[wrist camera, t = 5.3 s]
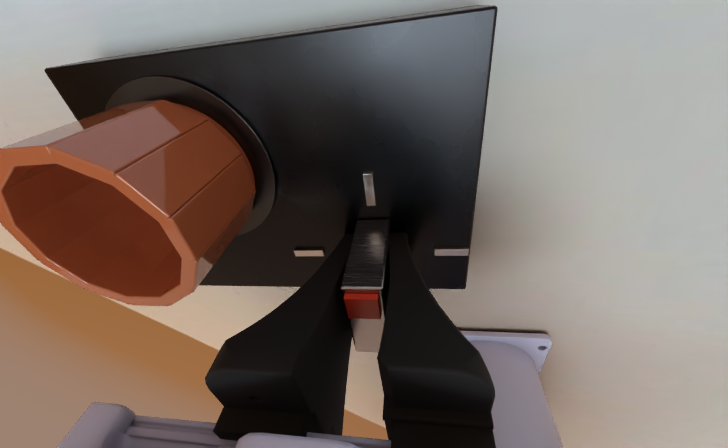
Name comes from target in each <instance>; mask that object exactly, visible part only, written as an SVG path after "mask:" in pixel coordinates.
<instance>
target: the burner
mask: <svg viewBox="0 0 728 448" xmlns="http://www.w3.org/2000/svg"><path fill="white" fill-rule="evenodd" d="M153 100H167V101H169V102H171V103H177V104H181V105H185V106H188V107H190V108H193V109H196V110H198V111H200V112H202V113H204V114H205V115H207V116H209V117H210V118H212V119H213V120H215V121H216V122H217V123H218V124H220V125H221V126H222V127H223V128H225V129H226V130H227V131H228V132H229V133H230V134H231V135H232V136H233V138H234V139H235V140H236V141H237V142H238V144H239V145H240V146H241V148H242V149H243V151H244V153H245V154H246V156H247V158H248V160H249V162H250V164H251V167H252V170H253V174H254V179H255V190H256V192H255V197H254V201H253V205H252V210H251V214H250V217H249V219H248V220H247V222H246V223H245V224H244V226H243V227H242V228H241V230H240V231H239V232H238V234H237V235H241V234H244V233H247V232H249V231H251V230H253V229H255V228H256V227H258V226H259V225H260V224H261V223H262V222H263V221H264V220H265V219H266V218H267V217H268V215H269V213H270V212H271V210H272V208H273V205H274V203H275V199H276V194H277V179H276V172H275V168H274V164H273V161H272V159H271V156H270V153H269V151H268V149H267V147H266V145H265V143H264V142H263V140H262V138H261V137H260V135H259V134H258V132H257V131H256V130H255V128H254V127H253V126H252V125H251V123H250V122H249V121H248V120H247V119H246V118H245V117H244V116H243V115H242V114H241V113H240V112H239V111H238V110H237V109H236V108H235V107H234V106H232V105H231V104H230V103H229V102H227V101H226V100H225V99H223V98H222V97H220V96H219V95H217V94H216V93H214V92H213V91H211V90H209V89H207V88H205V87H203V86H201V85H199V84H196V83H194V82H191V81H189V80H186V79H182V78H178V77H174V76H165V75H151V76H145V77H140V78H136V79H134V80H131V81H129V82H127V83H125V84H123V85H122V86H121V87H119V88H118V89H117V90H116V91H115V92H114V93H113V95H112V96H111V98H110V99H109V101H108V103H107V105H106V109H105V111H107V110H110V109H112V108H115V107H118V106H121V105H124V104H127V103H135V102H144V101H153Z"/></svg>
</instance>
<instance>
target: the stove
mask: <svg viewBox="0 0 728 448" xmlns="http://www.w3.org/2000/svg"><path fill="white" fill-rule="evenodd" d="M496 17H497V6H490V5H476V6H469V7H462V8H455V9H448V10H440V11H433V12H426V13H419V14H412V15H405V16H398V17H391V18H384V19H377V20H370V21H363V22H355V23H348V24H341V25H334V26H327V27H320V28H313V29H306V30H299V31H292V32H285V33H278V34H270V35H263V36H256V37H249V38H242V39H235V40H228V41H221V42H214V43H207V44H200V45H193V46H185V47H178V48H171V49H164V50H157V51H150V52H143V53H136V54H129V55H122V56H115V57H108V58H101V59H95V60H89V61H84V62H78V63H73V64H67V65H61V66H56V67H50V68H46V69H45V73H46V74H47V76H48V77H49V79H50V80H51V82H52V83H53V84H54V86H55V87H56V89H57V90H58V92H59V93H60V95H61V96H62V98H63V99H64V101H65V102H66V104H67V105H68V107H69V108H70V110H71V111H72V113H73V114H74V116H75V117H76V119H77V120H78V121H79V120H81V119H84V118H87V117H90V116H93V115H96V114H98V113H101V112H104V111H105V109H106V105H107V103H108V101H109V99H110V98H111V96H112V95H113V93H114V92H115V91H116V90H117V89H118V88H119V87H121V86H122V85H123V84H125V83H127V82H129V81H131V80H134V79H136V78H140V77H145V76H151V75H165V76H174V77H178V78H182V79H186V80H189V81H191V82H194V83H196V84H199V85H201V86H203V87H205V88H207V89H209V90H211V91H213V92H214V93H216V94H217V95H219V96H220V97H222V98H223V99H225V100H226V101H227V102H229V103H230V104H231V105H232V106H234V107H235V108H236V109H237V110H238V111H239V112H240V113H241V114H242V115H243V116H244V117H245V118H246V119H247V120H248V121H249V122H250V123H251V125H252V126H253V127H254V128H255V130H256V131H257V132H258V134H259V135H260V137H261V138H262V140H263V142H264V143H265V145H266V147H267V149H268V151H269V153H270V156H271V159H272V161H273V164H274V168H275V172H276V179H277V194H276V199H275V203H274V205H273V208H272V210H271V212H270V213H269V215H268V217H267V218H266V219H265V220H264V221H263V222H262V223H261V224H260V225H259V226H258V227H256V228H255V229H253V230H251V231H249V232H247V233H244V234H241V235H236V236H235V237H234V239H233V240H232V241H231V243H230V244H229V245H228V247H227V248H226V249H225V251H224V252H223V253H222V255H221V256H220V257H219V259H218V260H217V261H216V263H215V264H214V265H213V267H212V268H211V269H210V271H209V272H208V273H207V275H206V276H205V277H204V279H203V280H202V281H201V283H200V284H199V285H213V286H284V287H302V286H303V285H304V284H305V283H306V282H307V281H308V280H309V279H310V278H311V276H312V275H313V274H314V273H315V272H316V271H317V270H318V269H319V267H320V266H321V265H322V264H323V263H324V261H325V260H326V259H327V258H328V256H329V255H330V254H331V253H332V251H333V250H334V249H335V247H336V246H337V245H338V243H339V242H340V241H341V239H342V238H343V236H344V235H345V234H354V230H355V226H356V222H357V221H358V220H379V219H388V220H389V221H390V227H391V233H398V232H405V233H406V234H407V236H408V244H409V247H410V251H411V254H412V256H413V259H414V261H415V264H416V266H417V268H418V270H419V272H420V274H421V276H422V278H423V280H424V282H425V284H426V286H427V287H428V289H465V288H466V281H467V272H468V264H469V255H470V246H471V237H472V228H473V220H474V211H475V202H476V193H477V184H478V176H479V167H480V158H481V149H482V140H483V132H484V123H485V114H486V105H487V96H488V88H489V79H490V70H491V61H492V52H493V44H494V35H495V26H496Z"/></svg>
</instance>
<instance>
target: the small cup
mask: <svg viewBox="0 0 728 448" xmlns="http://www.w3.org/2000/svg"><path fill="white" fill-rule="evenodd" d="M255 192H256V190H255V179H254V174H253V170H252V167H251V164H250V162H249V160H248V158H247V156H246V154H245V153H244V151H243V149H242V148H241V146H240V145H239V144H238V142H237V141H236V140H235V139H234V138H233V136H232V135H231V134H230V133H229V132H228V131H227V130H226V129H225V128H223V127H222V126H221V125H220V124H218V123H217V122H216V121H215V120H213V119H212V118H210V117H209V116H207V115H205V114H204V113H202V112H200V111H198V110H196V109H193V108H190V107H188V106H185V105H181V104H177V103H171V102H169V101H167V100H153V101H144V102H135V103H127V104H124V105H121V106H118V107H115V108H112V109H110V110H107V111H104V112H101V113H98V114H96V115H93V116H90V117H87V118H84V119H81V120H79V121H76V122H73V123H70V124H67V125H64V126H62V127H59V128H56V129H53V130H50V131H47V132H45V133H42V134H39V135H36V136H33V137H31V138H28V139H25V140H22V141H19V142H16V143H14V144H11V145H8V146H5V147H2V148H0V223H1V224H2V226H3V227H4V228H5V229H6V230H7V231H8V232H10V233H11V234H12V235H13V236H14V237H15V238H16V239H17V240H18V241H19V242H20V243H21V244H22V245H23V246H24V247H25V248H26V249H27V250H28V251H29V252H30V253H31V254H32V255H33V256H34V257H35V258H36V259H37V260H39V261H40V262H41V263H42V264H44V265H46V266H47V267H49V268H51V269H52V270H54V271H56V272H57V273H59V274H61V275H62V276H64V277H66V278H67V279H69V280H70V281H72V282H74V283H75V284H77V285H79V286H80V287H82V288H84V289H87V290H88V291H91V292H94V293H97V294H100V295H103V296H106V297H109V298H112V299H115V300H118V301H121V302H124V303H126V304H132V305H146V306H169V305H170V306H171V305H172V304H174V303H176V302H177V301H179V300H181V299H182V298H184V297H186V296H187V295H189V294H191V293H192V292H194V291H195V289H196V288H197V287H198V285H199V284H200V283H201V281H202V280H203V279H204V277H205V276H206V275H207V273H208V272H209V271H210V269H211V268H212V267H213V265H214V264H215V263H216V261H217V260H218V259H219V257H220V256H221V255H222V253H223V252H224V251H225V249H226V248H227V247H228V245H229V244H230V243H231V241H232V240H233V239H234V237H235V236H236V235H237V234H238V232H239V231H240V230H241V228H242V227H243V226H244V224H245V223H246V222H247V220H248V219H249V217H250V214H251V210H252V205H253V201H254V197H255Z"/></svg>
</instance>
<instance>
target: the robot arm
mask: <svg viewBox="0 0 728 448" xmlns="http://www.w3.org/2000/svg"><path fill="white" fill-rule="evenodd" d="M352 238H353V234H345V235H344V236H343V238H342V239H341V241H340V242H339V243H338V245H337V246H336V247H335V249H334V250H333V251H332V253H331V254H330V255H329V256H328V258H327V259H326V260H325V261H324V263H323V264H322V265H321V266H320V267H319V269H318V270H317V271H316V272H315V273H314V274H313V275H312V276H311V278H310V279H309V280H308V281H307V282H306V283H305V284H304V285H303V286H302V287H301V288H300V289H299V290H297V291H296V292H295V293H294V294H293V295H292V296H291V297H290V298H288V299H287V300H286V301H285V302H283V303H282V304H281V305H280V306H278V307H277V308H276V309H275V310H273V311H272V312H271V313H269V314H268V315H266V316H265V317H263V318H262V319H260V320H259V321H257V322H256V323H254V324H253V325H251V326H250V327H248V328H246V329H245V330H243V331H241V332H240V333H238V334H236V335H234V336H233V337H231V338H229V339H227V340H226V341H225V343H224V344H223V346H222V348H221V349H220V351H219V353H218V355H217V356H216V358H215V360H214V362H213V364H212V366H211V368H210V370H209V372H208V373H207V376H206V377H205V381H206V385H207V386H208V388H209V389H210V391H211V392H212V393H213V394H214V395H215V396H216V398H217V399H218V400H219V401H220V402H221V403H222V404H223V406H224V408H223V410H222V412H221V415H220V416H219V419H218V421H217V423H209V422H199V421H188V420H178V419H168V418H158V417H148V416H137V415H135V413H134V412H133V411H132V410H130V409H129V408H127V407H125V406H123V405H119V404H110V403H100V402H94V403H91V405H90V406H89V407H88V408H87V410H86V411H85V412H84V413H83V415H82V416H81V417H80V418H79V420H78V421H77V422H76V423H75V425H74V426H73V427H72V429H71V430H70V431H69V432H68V434H67V435H66V436H65V437H64V439H63V440H62V441H61V442H60V444H59V445H58V446H57V447H56V448H563V445H562V442H561V440H560V437H559V434H558V431H557V428H556V425H555V422H554V419H553V416H552V413H551V410H550V407H549V405H548V402H547V399H546V396H545V393H544V390H543V387H542V384H541V381H540V378H539V373H540V371H541V369H542V366H543V364H544V361H545V359H546V357H547V354H548V352H549V350H550V347H551V345H552V339H551V337H550V336H549V335H547V334H538V333H511V332H484V331H459V330H458V328H457V327H456V326H455V325H454V324H453V323H452V321H451V320H450V319H449V317H448V316H447V315H446V314H445V312H444V311H443V310H442V308H441V307H440V306H439V304H438V303H437V301H436V300H435V298H434V297H433V295H432V294H431V292H430V291H429V289H428V287H427V286H426V284H425V282H424V280H423V278H422V276H421V274H420V272H419V270H418V268H417V266H416V264H415V261H414V259H413V256H412V254H411V251H410V247H409V244H408V236H407V234H406V233H405V232H398V233H391V237H390V243H389V265H390V284H389V292H388V300H387V307H386V314H385V320H384V326H383V332H382V337H381V342H380V348H379V352H378V357H377V359H378V364H379V370H380V375H381V380H382V386H383V391H384V406H383V420H385V425H386V430H387V434H388V439H389V440H381V439H372V438H362V437H351V436H342V429H343V416H344V404H345V393H346V383H347V374H348V364H349V356H350V348H351V340H352V333H351V329H350V325H349V321H348V317H347V313H346V310H345V306H344V302H343V298H342V294H341V290H340V287H341V283H342V279H343V275H344V271H345V267H346V263H347V259H348V254H349V250H350V246H351V242H352Z"/></svg>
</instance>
